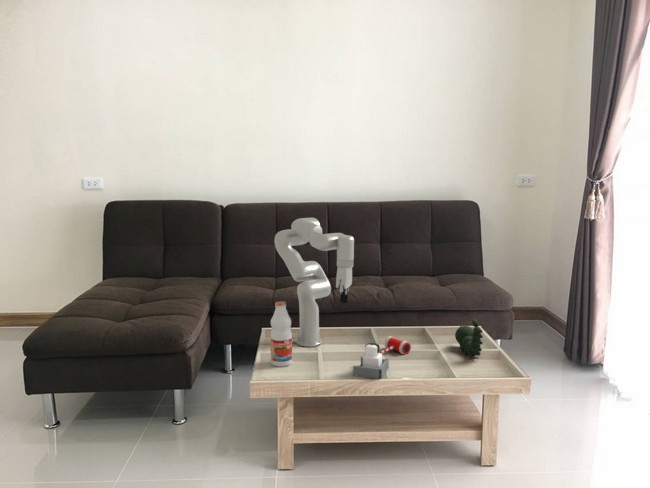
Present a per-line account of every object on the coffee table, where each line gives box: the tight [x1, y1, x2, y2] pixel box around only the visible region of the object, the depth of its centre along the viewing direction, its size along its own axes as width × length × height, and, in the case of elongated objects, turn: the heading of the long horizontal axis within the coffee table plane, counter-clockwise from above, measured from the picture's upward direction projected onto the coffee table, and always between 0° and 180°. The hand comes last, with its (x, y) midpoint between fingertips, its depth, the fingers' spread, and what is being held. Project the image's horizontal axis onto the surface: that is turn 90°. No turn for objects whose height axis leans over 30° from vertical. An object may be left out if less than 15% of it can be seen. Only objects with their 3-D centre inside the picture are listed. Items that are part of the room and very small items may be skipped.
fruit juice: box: [270, 300, 293, 368], centre depth 260 cm, size 9×9×28 cm
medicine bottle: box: [362, 342, 383, 368], centre depth 251 cm, size 7×7×12 cm
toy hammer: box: [379, 335, 412, 355], centre depth 272 cm, size 23×12×6 cm, turn 128°
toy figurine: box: [454, 318, 484, 357], centre depth 275 cm, size 9×19×25 cm
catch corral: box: [352, 355, 390, 380], centre depth 250 cm, size 12×13×4 cm
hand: (344, 302), depth 267 cm, fingers closed
